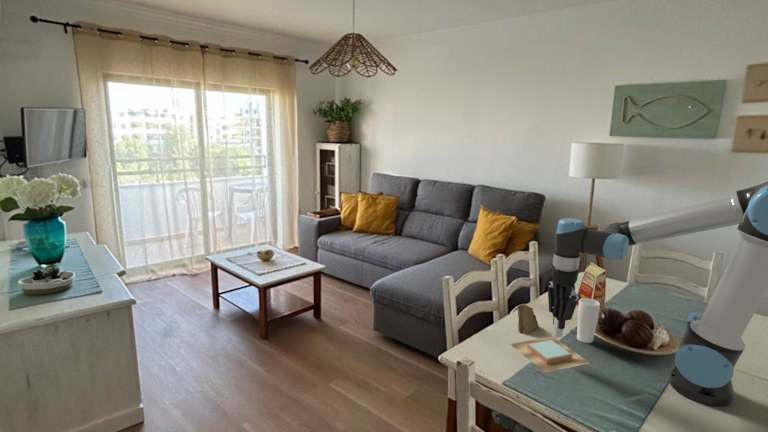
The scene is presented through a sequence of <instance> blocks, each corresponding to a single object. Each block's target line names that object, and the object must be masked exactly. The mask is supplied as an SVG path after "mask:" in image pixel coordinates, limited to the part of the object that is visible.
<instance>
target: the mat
mask: <svg viewBox="0 0 768 432" xmlns="http://www.w3.org/2000/svg"><path fill="white" fill-rule="evenodd" d="M547 340H552V341H554V342H555V343H557V344H558V345H559V346H561V347H562V348H564V349H565V350H567V351H568V352H569V353H571V354H572V359H568V360H563V361H558V362H553V363H548V364H546V363H545V362H544V361H543V360H541V359H540V358H539V357H538V356H536V355H535V354H534V353H533V352H531V351H530V350H529V349H528V348H527V344H531V343H536V342H542V341H547ZM510 346H512V347H513V348H514V349H515V350H516V351H518V352H519V354H521V355H522V356H523V357H525V358H526V359H527V360H528V361H529V362H530V363H532V364H533V365H535V366H536V367H537V368H538V369H540V371H542V372H543V373H544V374H545V373H546V374H547V373H551V372H552V373H553V372H555V371H560V370H564V369H565V370H566V369H569V368H575V367H579V366H584V365H589V364H591V362H590V361H589V360H587V359H585V358H584V357H582V356H581V355H579V354H578V353H577V352H576V351H574V350H572V349H571V348H569V346H567V345H566V344H564V343H563V342H561V341H560V340H558V339H557V338H555V337H554V336H548V337H542V338H538V339H537V338H536V339H530V340H525V341H519V342H513V343H510Z"/></svg>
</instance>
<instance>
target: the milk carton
mask: <svg viewBox="0 0 768 432" xmlns="http://www.w3.org/2000/svg"><path fill="white" fill-rule="evenodd" d="M589 263H590V264H589V265H588V266H587V267H586V268H585V270H584V272H583V275H582V277H581V280H580V284H579V287H578V289H577V292H576V294H577V295H580V296H581V298H580V299H582V298H589V299H593V300H596V301H598V302H599V303H600V311H599V313H601V312H603V311H604V310H605V308H606V307H605V306H606V292H607V290H606V289H607V274H606V272H607V270H606V269H605V268H602V267H600V266H598V265H596V263H594V262H592V261H589ZM580 299H579V300H580ZM578 305H579V301H578V302H577V305H576V308H577V309H578ZM602 310H603V311H602Z"/></svg>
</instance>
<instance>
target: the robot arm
mask: <svg viewBox="0 0 768 432" xmlns="http://www.w3.org/2000/svg"><path fill="white" fill-rule="evenodd" d="M736 225H738V226H737V228H736V230H737V232H738V234H739V235H740V239H739V242H738V244H737V246H736V248H735V250H734V252H733V254H732V256H731V258H730V260H729V262H728V264H727V267H726V268H725V270H724V272H723V274H722V275H721V278H720V279H719V282H718V284H717V286H716V288H715V290H714V292H713V293H712V296H711V298H710V300H709V302H708V304H707V305H706V308H705V310H704V312H699V311H698V312H697V311H696V312H691V313H689V314H688V317H687V319H686V327H685V331H684V334H683V337H682V339H681V341H680V344H679V346H678V348H677V350H676V351H675V353H674V358H675V359H674V361H675V365H674V367H673V368H672V370H671V371H670V373H669V377H668V378H669V379H668V382H669V385H670V386H671V387H672V388H673V390H675V391H676V392H677V393H679V394H681V395H682V396H684V397H686V398H687V399H689V400H690V399H691V400H692V401H693V402H694V401H695V402H697V403H700V404H704V405H708V406H714V407H726V406H730V405H731V404H732V403H733V401H734V396H735V391H734V387H733V382H732V378H733V377H734V368H735V366H736V364H737V363H738V361H739V359H740V357H741V355H742V354H743V352H744V350H745V348H746V344H745V342H744V340H743V339H742V337H743V335H744V332H745V331H746V329H747V327H748V325H749V324H750V322H751V320H752V318H753V317H754V315H755V313H756V311H757V309H758V307H759V305H760V304H761V301H762V300H763V298H764V297H765V294H766V293H767V291H768V181H764V182H763V183H759V184H757V185H754V186H751V187H747V188H743V189H740V190H736V191H734V192H733V193H732V195H730V196H727V197H723V198H720V199H719V198H718V199H714V200H711V201H706V202H702V203H701V202H700V203H698V204H694V205H693V204H692V205H689V206H686V207H682V208H677V209H672V210H668V211H665V212H661V213H655V214H651V215H648V216H642V217H639V218H635V219H631V220H627V221H623V222H619V221H618V222H613V223H610V224H609V225H607V226H606V227H605V228H603V229H601V230H596V229H591V228H587V227H585V222H584V221H583V220H582V219H579V218H573V217H566V218H561V219H559V220H558V222H557V227H556V231H555V241H554V242H555V243H554V251H553V252H554V253H553V260H552V265H553V266H552V268H551V279H552V280H551V281H547V282H545V285H546V287H547V298H548V299H547V301H548V312H549V313H551V314H552V317H553V318H552V319H553V320H552V325H553V326H552V327H553V329H552V335H551V337H554V338H555V339H557V338H562V337H563V335H564V334H563V333H564V329H565V328H566V321H570V320H572V319H573V316H574V313H575V311H576V308H577V307H576V305H577V302H578V301H579V299H580V298H581V296H580V295H577V292H576V286H575V284H576V283H577V281H578V277H579V268H580V261H581V255H582V254H587V255H591V256H594V257H595V256H596V257H600V258H604V259H607V260H615V261H623V260H624V259H625V258H626V256H627V254H628V250H629V247H632V246H635V245H639V244H643V243H648V242H649V243H650V242H656V241H660V240H664V239H671V238H675V237H680V236H685V235H690V234H691V235H692V234H695V233H701V232H706V231H710V230H716V229H721V228H726V227H732V226H736Z"/></svg>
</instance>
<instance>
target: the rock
mask: <svg viewBox="0 0 768 432" xmlns="http://www.w3.org/2000/svg"><path fill="white" fill-rule="evenodd" d="M517 315H518V323H517V324H518V325H517V330H518V332H519V333H520V335H526V334H529V333H533V332H534V330H535V329H536V328H537V327H538V326H539V324H538V321H537V316H536V314H535V313H534V308H532V307H531V306H528V305H527V304H524V305H521V304H520V305H518V308H517Z"/></svg>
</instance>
